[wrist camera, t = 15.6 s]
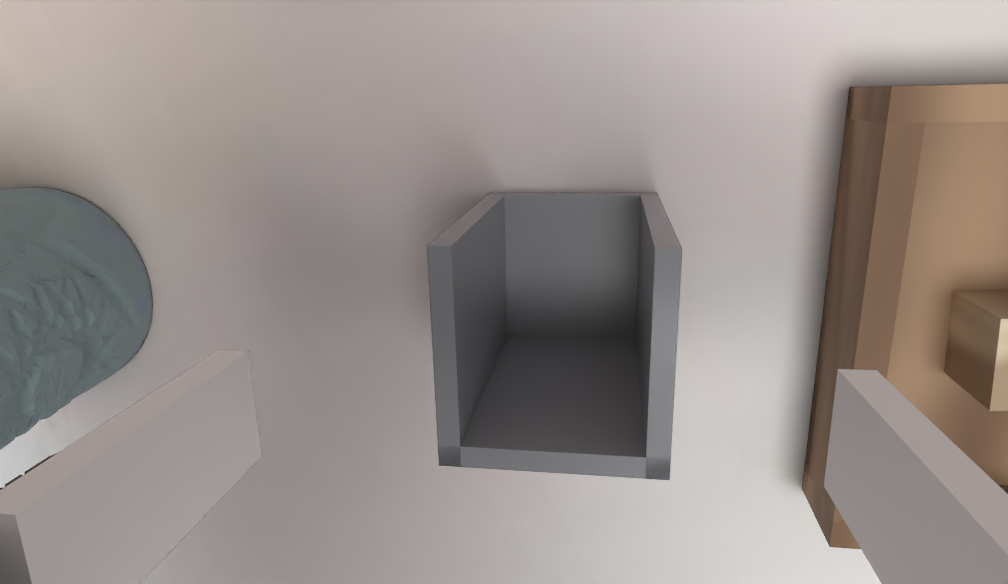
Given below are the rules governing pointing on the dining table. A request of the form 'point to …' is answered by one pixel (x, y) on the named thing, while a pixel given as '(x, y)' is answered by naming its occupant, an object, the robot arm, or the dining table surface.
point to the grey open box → (557, 334)
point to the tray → (912, 262)
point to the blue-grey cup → (63, 303)
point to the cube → (979, 345)
